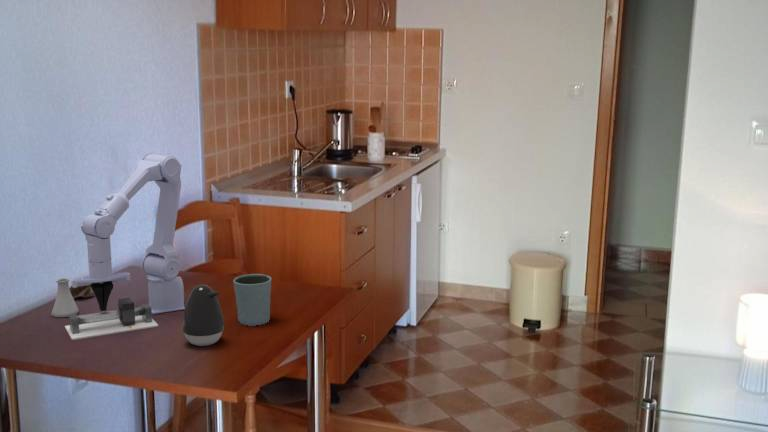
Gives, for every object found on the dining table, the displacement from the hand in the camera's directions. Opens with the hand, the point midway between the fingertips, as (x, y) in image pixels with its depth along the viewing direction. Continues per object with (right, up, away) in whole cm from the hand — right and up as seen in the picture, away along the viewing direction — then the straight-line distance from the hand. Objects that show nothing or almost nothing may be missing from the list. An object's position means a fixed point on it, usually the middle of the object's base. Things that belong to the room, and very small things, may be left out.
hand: (102, 309), depth 220 cm
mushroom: (-15, 0, +27) cm, 31 cm away
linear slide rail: (+2, -5, +2) cm, 5 cm away
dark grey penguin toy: (+29, -8, -9) cm, 31 cm away
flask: (-15, -3, +12) cm, 19 cm away
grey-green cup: (+39, -4, +8) cm, 40 cm away
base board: (+2, -5, +2) cm, 5 cm away
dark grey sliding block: (+5, -4, +4) cm, 8 cm away
